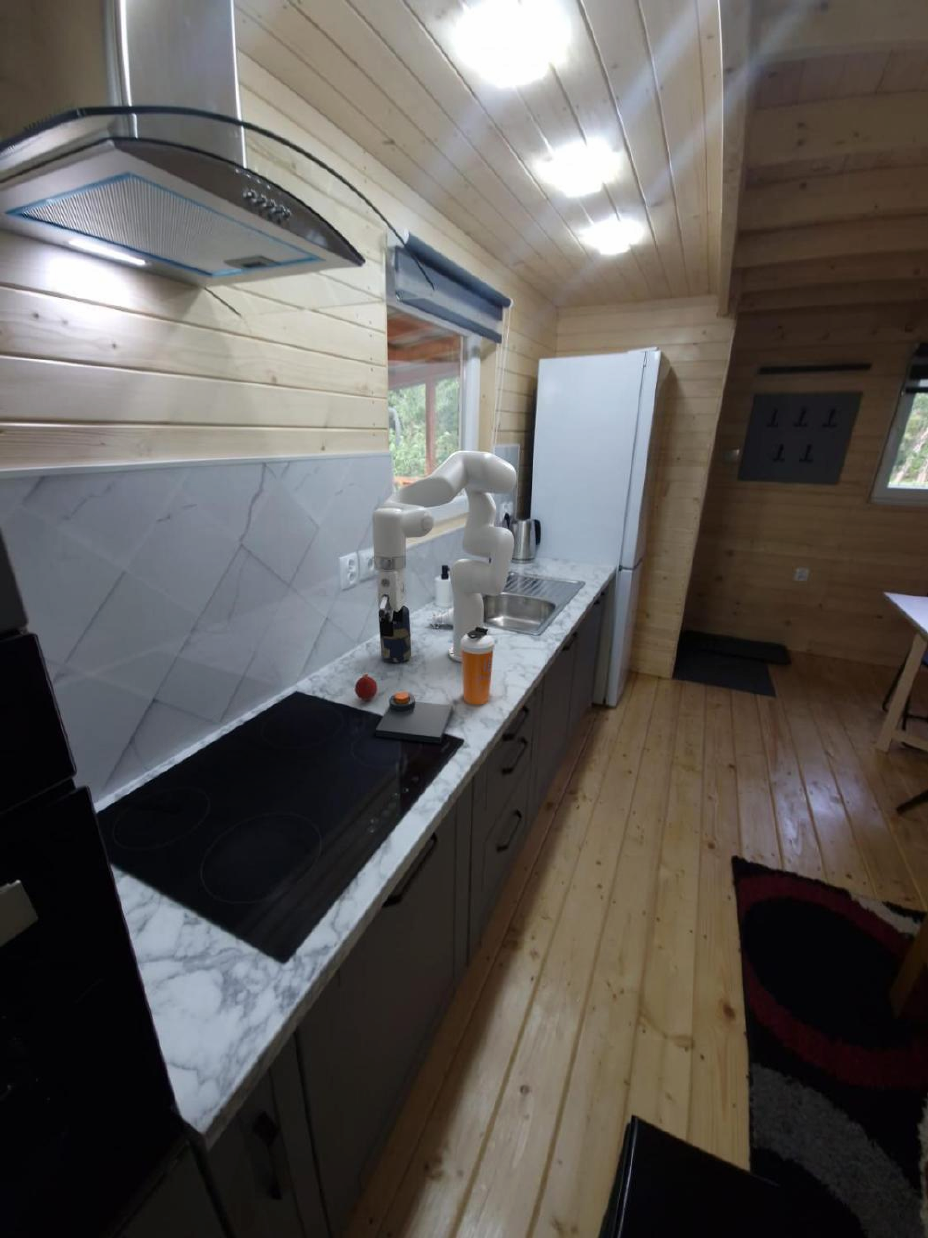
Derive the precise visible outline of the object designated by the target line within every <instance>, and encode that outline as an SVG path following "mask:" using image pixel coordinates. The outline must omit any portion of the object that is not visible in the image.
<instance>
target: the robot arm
mask: <svg viewBox="0 0 928 1238" xmlns="http://www.w3.org/2000/svg"><path fill="white" fill-rule="evenodd" d="M517 481H518V476H517V471H516V469H515V467H514V466H513V465H512V464H511V463H510V462H508V461H506V460H504V459H503V458H501V457H500V456H498V455H496V454H493V453H492V452H488V451H478V450H477V451H476V450H459V451H454V452H453V453H452V454H451V455H450V456H448V457H447V458H446V459H445V460H444V461H443V462H442V463H441V464H440V465H439V466H438V467H437V468H436V469H435V470H434V471H433V472H431V474H430V475H428V476H427V477H424V478H420V479H418V480H416V481H414V482H411V483H409V484H406V485H404V486H402V487H400V488H399V489H397V490H396V491H394V492H392V494H391V495H390V496H388V497H387V498H386V500H384V501H383V503H382V504H381V505H380V507H379V508H378V509H375V510H374V511H373V513H372V515H371V516H372V517H371V521H372V543H373V544H372V545H373V563H374V564H373V566H374V567H373V568H374V570H375V571H377V607H378V612H379V611H380V614H379V613H378V617H379V616H380V628H379V636H380V635H381V636H386V637H393V636H394V622H403V607H402V606H403V605H404V606H405V603H406V602H407V584H406V572H405V570H406V569H407V539H411V538H423V537H425V536H427V535H428V534H430V532H431V531H432V530H433V528H434V524H435V518H434V515H433V513H432V511H431V510H430V509H429V508H435V507H439V506H440V507H441V506H444V505H446V504H449V503H451V502H452V501H453V500H454V499H455V498H456V497H457V496H458V495H459V493H460V492H461V491H463V490H464V491H465V494H466V497H467V500H468V512H467V517H466V522H465V526H464V532H463V537H462V541H461V542H462V543H461V546H462V547H461V548H462V550H463V552H465V553H466V554H468V555H471V556H475V557H481V558H486V559H490V562H486V561H483V560H476V559H470V558H461V559H458V560H455V562H453V563H452V565H451V567H450V571H449V579H450V584H451V585H450V586H451V589H452V598H453V599H452V600H453V601H452V603H453V604H452V605H453V607H452V608H453V626H452V628H453V631H452V632H453V633H452V636H453V638H452V639H453V641H452V642H453V644H452V646H451V647H450V648H449V649H448V656H449V658H451V659H452V660H453V661H455V662H459V663H462V649H461V639H462V638H463V636H465V635H466V634H468V633H469V632H471V631H473V630H474V629H475V627H480V628H484V617H485V616H484V614H485V613H484V612H485V611H484V610H485V604H484V599H483V597H482V595H486V596H489V597H490V596H491V597H496V596H500V595H501V594H502V593H503V591H504V590H505V588H506V585H507V582H508V577H509V572H510V568H511V563H512V560H513V555H514V549H515V539H514V534H513V532H512V531H511V530H510V529H508V528H506V527H503V526H495V524H496V518H497V513H498V509H497V505H496V503H495V500H494V498H493V496H492V494H495V495H508V494H510V493H511V492H512V491H514V489H515V487H516V486H517ZM387 607H390V608H387ZM386 612H390V614H389V615H388V613H386Z"/></svg>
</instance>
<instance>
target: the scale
mask: <svg viewBox="0 0 928 1238" xmlns="http://www.w3.org/2000/svg"><path fill="white" fill-rule="evenodd" d="M407 693H408V694H409V701H408V702H407V703H402V704H401V703H396V702H395V694H393V695H390V697H389V699H388V704H389V706H388V708H387V710H386V711H385V713H384V715H383V716H382V718H381V720H380V721H379V723H378V725H377V726H376V727H375V737H381V738H389V739H398V740H406V741H414V742H422V743H423V742H424V743H429V744H437V745H438V744H439V745H440V744H441V743H442V741H443V738H444V736H445V732H446V730H447V728H448V725H449V722H450V720H451V717H452V714H453V705H449V704H441V703H432V702H431V703H430V702H421V701H416V698H415V696H414V695H413V694H411V693H409V692H407Z"/></svg>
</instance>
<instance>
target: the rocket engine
mask: <svg viewBox="0 0 928 1238" xmlns="http://www.w3.org/2000/svg"><path fill="white" fill-rule="evenodd" d="M426 620H427V622H430V624H431V625H432V627H433V628H434V629H439V627H440V624H446V625H449V626H452V627H453V607H451V608H449V609H448V610H446V611H445V612H444V613H443V614H442V613H441V612H438V613H437V612H436V611H432V616H429V617H427V618H426ZM436 625H437V627H436Z"/></svg>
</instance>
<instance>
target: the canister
mask: <svg viewBox="0 0 928 1238" xmlns="http://www.w3.org/2000/svg"><path fill="white" fill-rule="evenodd" d="M402 607H403V622H394V636H393V637H386V636H381V635H380V634H379V642H380V644H379V645H380V655H381V659H383V660H384V661H386V662H388V663H402V662H405V661H406V660H408V659H410V658H411V656H412V639H411V637H412V634H411V619H410V618H411V617H410V609H409V608H408V607H407V606H406V605H405V604H404V605H403V606H402ZM387 608H390V607H387ZM386 613H388V615H389V614H390V612H386ZM379 614H380V611H379V610H378V624H379V625H378V628H379V629H380V616H379Z"/></svg>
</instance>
